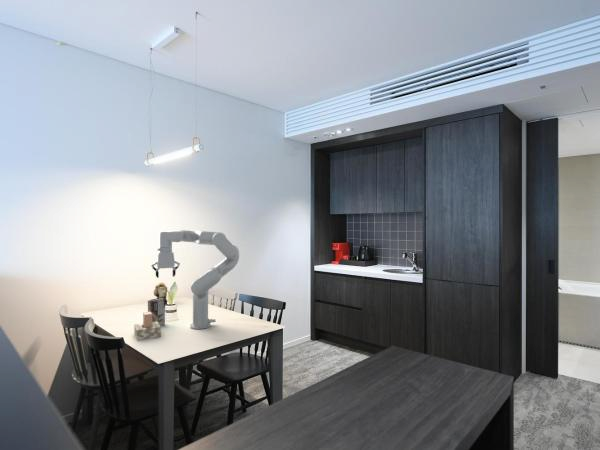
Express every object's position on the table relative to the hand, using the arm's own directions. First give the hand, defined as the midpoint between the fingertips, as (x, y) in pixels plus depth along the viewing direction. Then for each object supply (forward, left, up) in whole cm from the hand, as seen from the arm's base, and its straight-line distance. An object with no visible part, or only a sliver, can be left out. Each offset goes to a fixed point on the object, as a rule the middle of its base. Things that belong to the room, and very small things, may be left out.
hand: (165, 277), depth 231 cm
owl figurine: (-8, -72, -33) cm, 79 cm away
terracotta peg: (+12, +10, -31) cm, 35 cm away
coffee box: (+4, -10, -32) cm, 34 cm away
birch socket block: (+12, +10, -32) cm, 36 cm away
